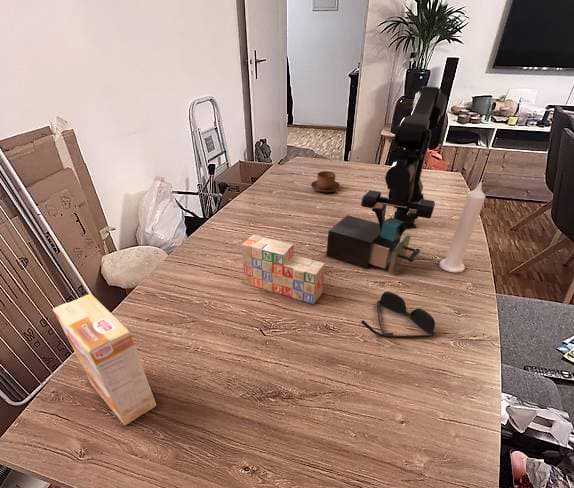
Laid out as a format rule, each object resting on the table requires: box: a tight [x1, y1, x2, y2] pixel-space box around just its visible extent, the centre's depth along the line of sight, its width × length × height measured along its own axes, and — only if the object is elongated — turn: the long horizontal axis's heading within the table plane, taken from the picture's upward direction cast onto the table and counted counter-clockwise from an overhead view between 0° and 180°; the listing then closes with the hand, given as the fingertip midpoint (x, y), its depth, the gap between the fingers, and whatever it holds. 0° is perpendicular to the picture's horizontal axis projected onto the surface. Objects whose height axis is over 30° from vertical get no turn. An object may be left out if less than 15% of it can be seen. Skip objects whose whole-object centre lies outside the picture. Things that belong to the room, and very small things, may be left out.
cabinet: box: [325, 214, 381, 270], centre depth 115 cm, size 14×13×9 cm
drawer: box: [369, 234, 421, 274], centre depth 111 cm, size 17×11×7 cm
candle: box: [439, 181, 486, 274], centre depth 104 cm, size 7×7×25 cm
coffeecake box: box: [52, 293, 157, 426], centre depth 69 cm, size 15×7×20 cm, turn 45°
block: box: [380, 217, 404, 241], centre depth 106 cm, size 4×4×4 cm
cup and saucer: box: [310, 170, 341, 193], centre depth 155 cm, size 12×12×6 cm
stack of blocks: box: [241, 234, 326, 305], centre depth 99 cm, size 21×6×12 cm, turn 62°
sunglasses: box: [361, 291, 436, 339], centre depth 89 cm, size 17×14×5 cm
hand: (391, 233), depth 107 cm, fingers closed on block, 5 cm apart
